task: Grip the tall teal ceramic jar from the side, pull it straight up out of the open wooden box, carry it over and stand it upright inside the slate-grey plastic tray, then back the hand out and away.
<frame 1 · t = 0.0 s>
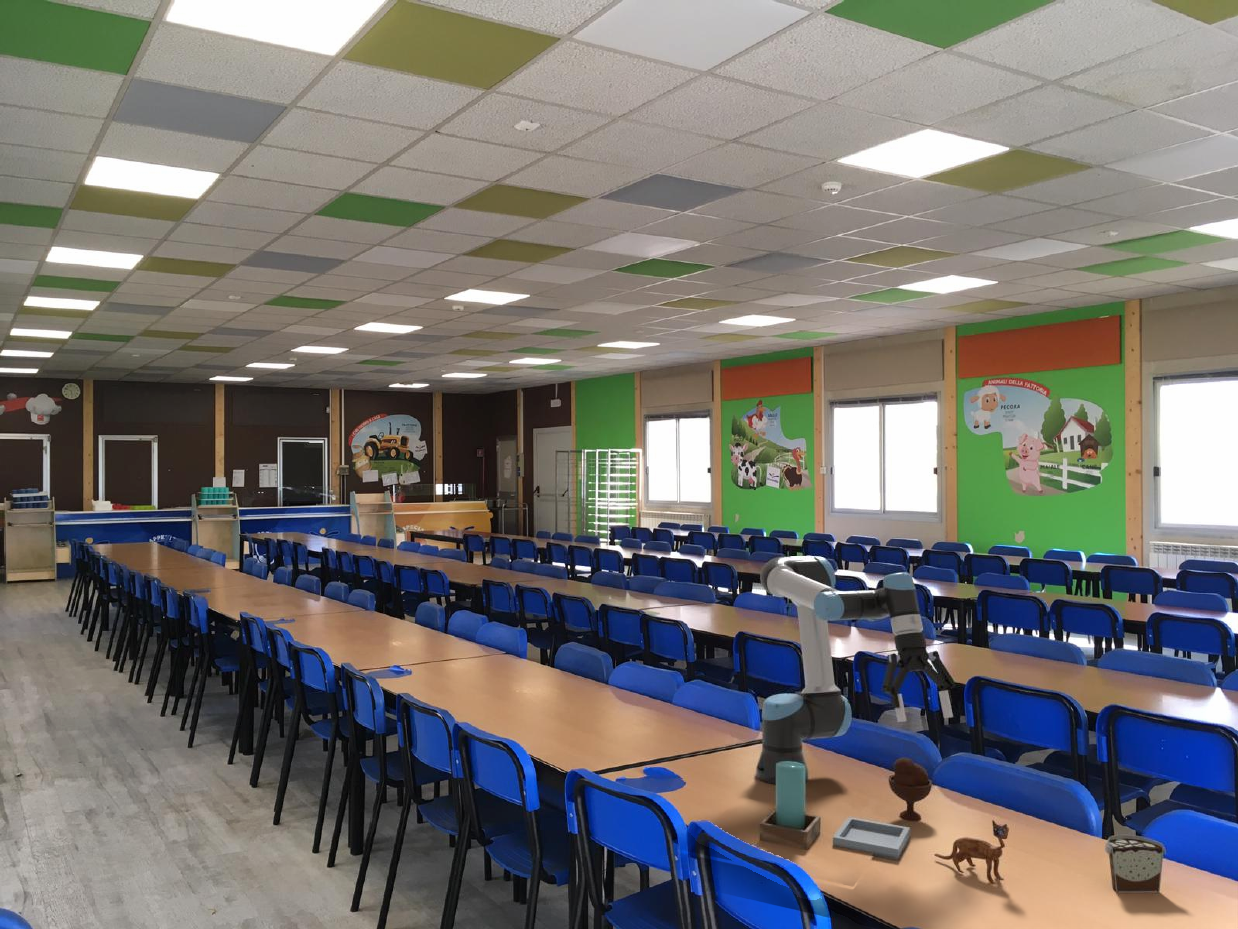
hand: (925, 719, 225), 28 cm above the table, fingers open, 13 cm apart
teal jar: (790, 836, 221), point 1 cm above the table, touching open wooden box
open wooden box: (790, 838, 221), on the table
ice cream bowl: (910, 818, 236), on the table
food container: (1129, 887, 196), on the table
tray: (871, 842, 218), on the table
cat figurine: (970, 873, 203), on the table
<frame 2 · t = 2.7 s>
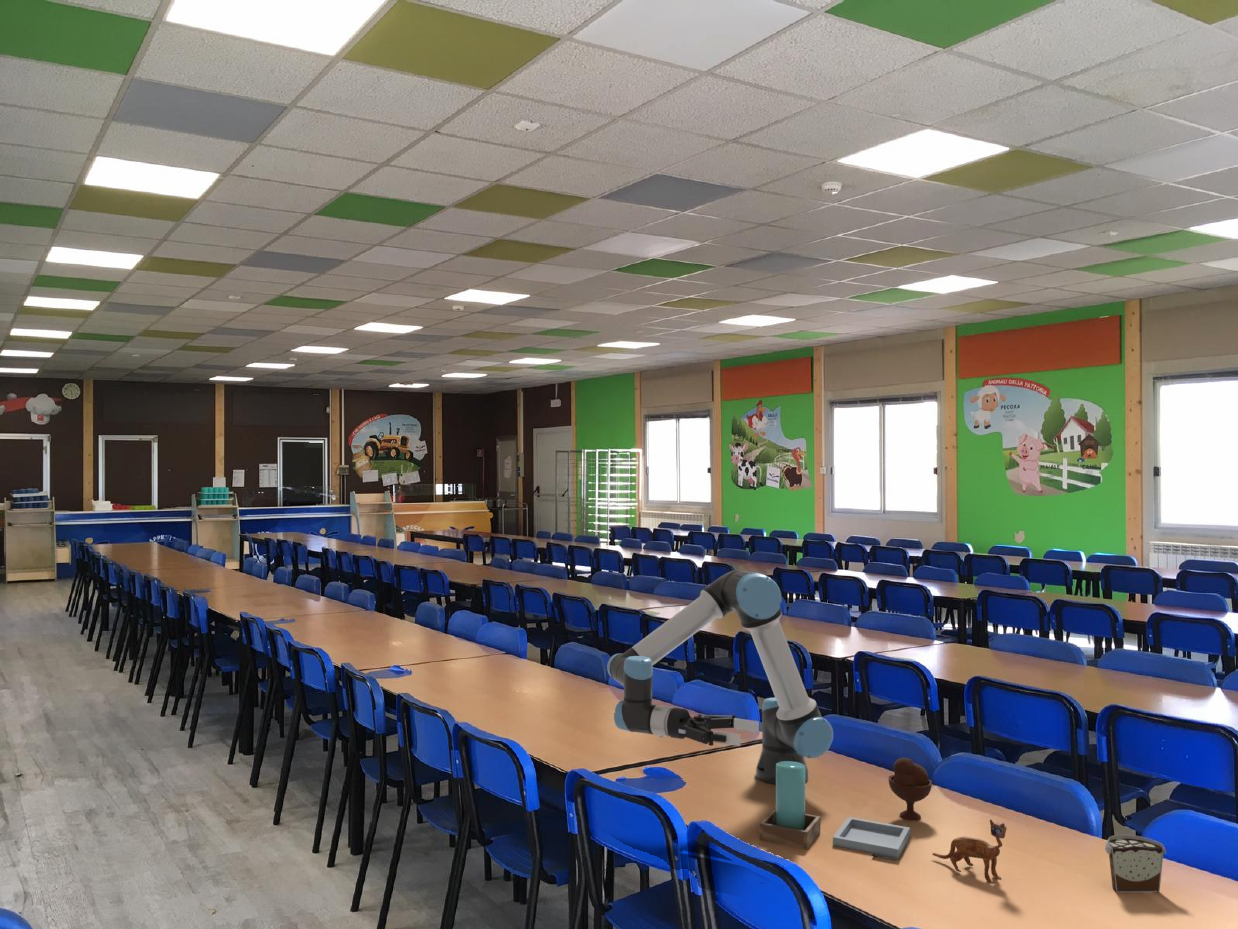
hand: (749, 733, 226), 24 cm above the table, fingers open, 13 cm apart
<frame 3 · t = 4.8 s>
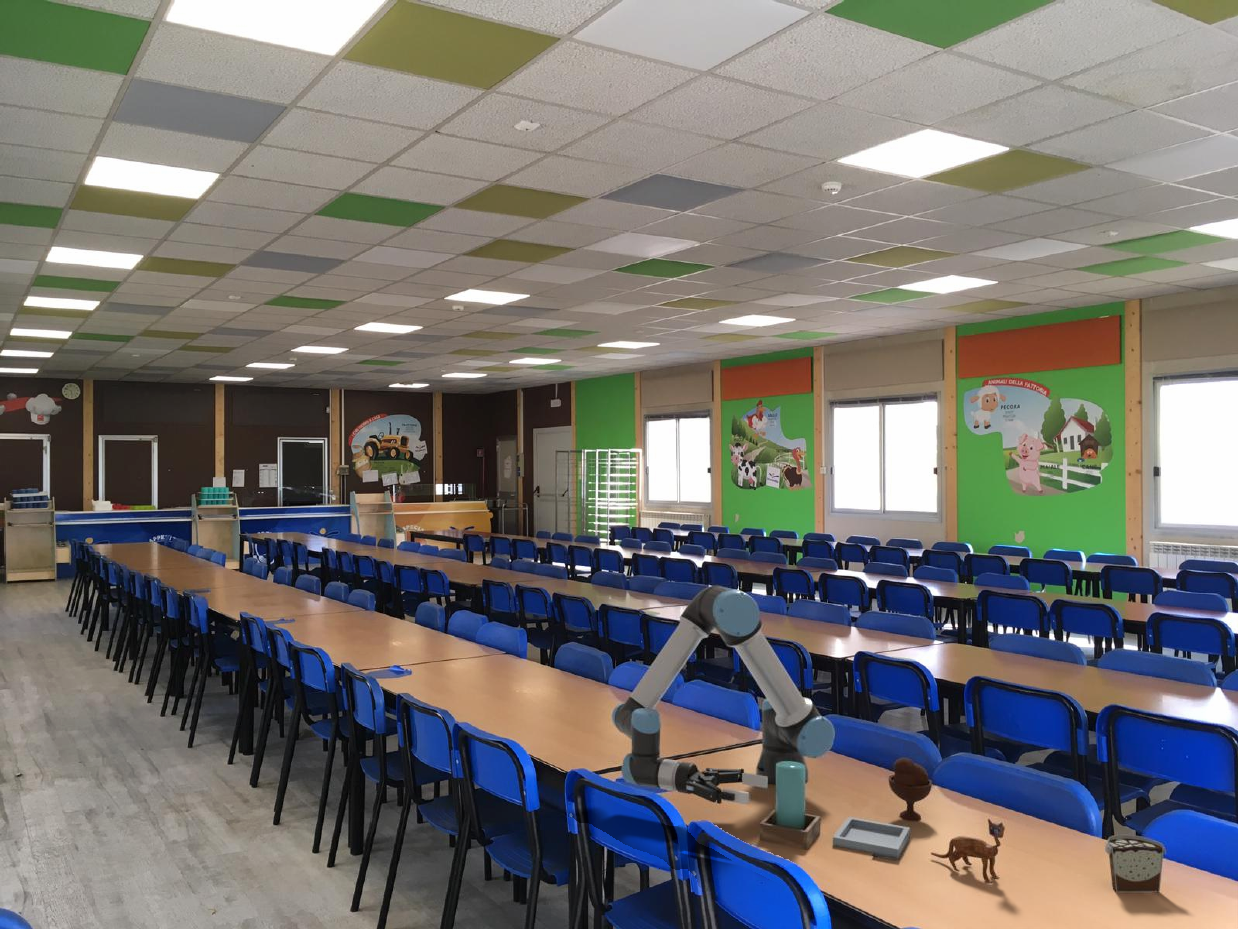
hand: (758, 790, 224), 10 cm above the table, fingers open, 13 cm apart
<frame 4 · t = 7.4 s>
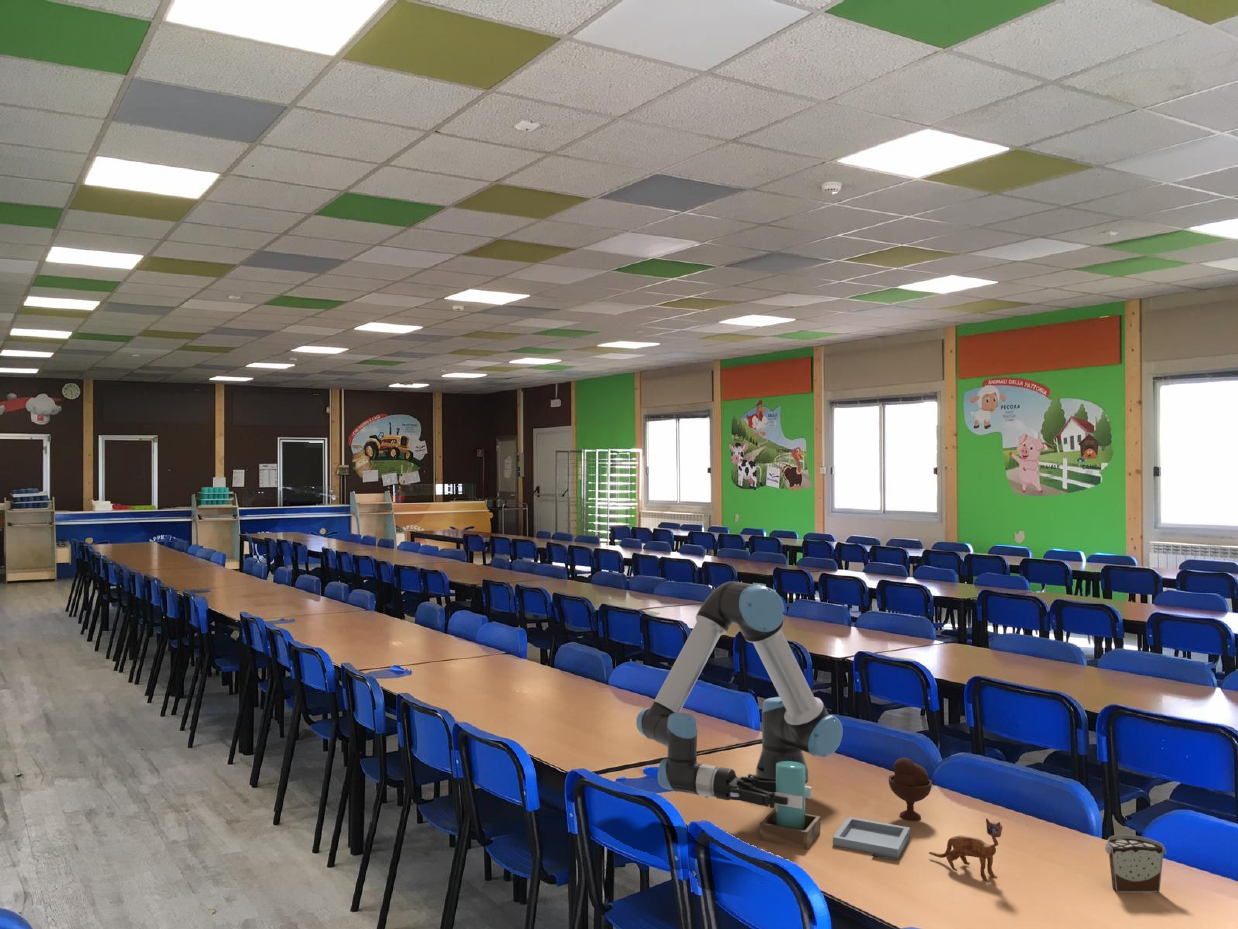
hand: (806, 797, 219), 10 cm above the table, fingers closed on teal jar, 7 cm apart
teal jar: (790, 836, 221), point 1 cm above the table, touching open wooden box, gripper
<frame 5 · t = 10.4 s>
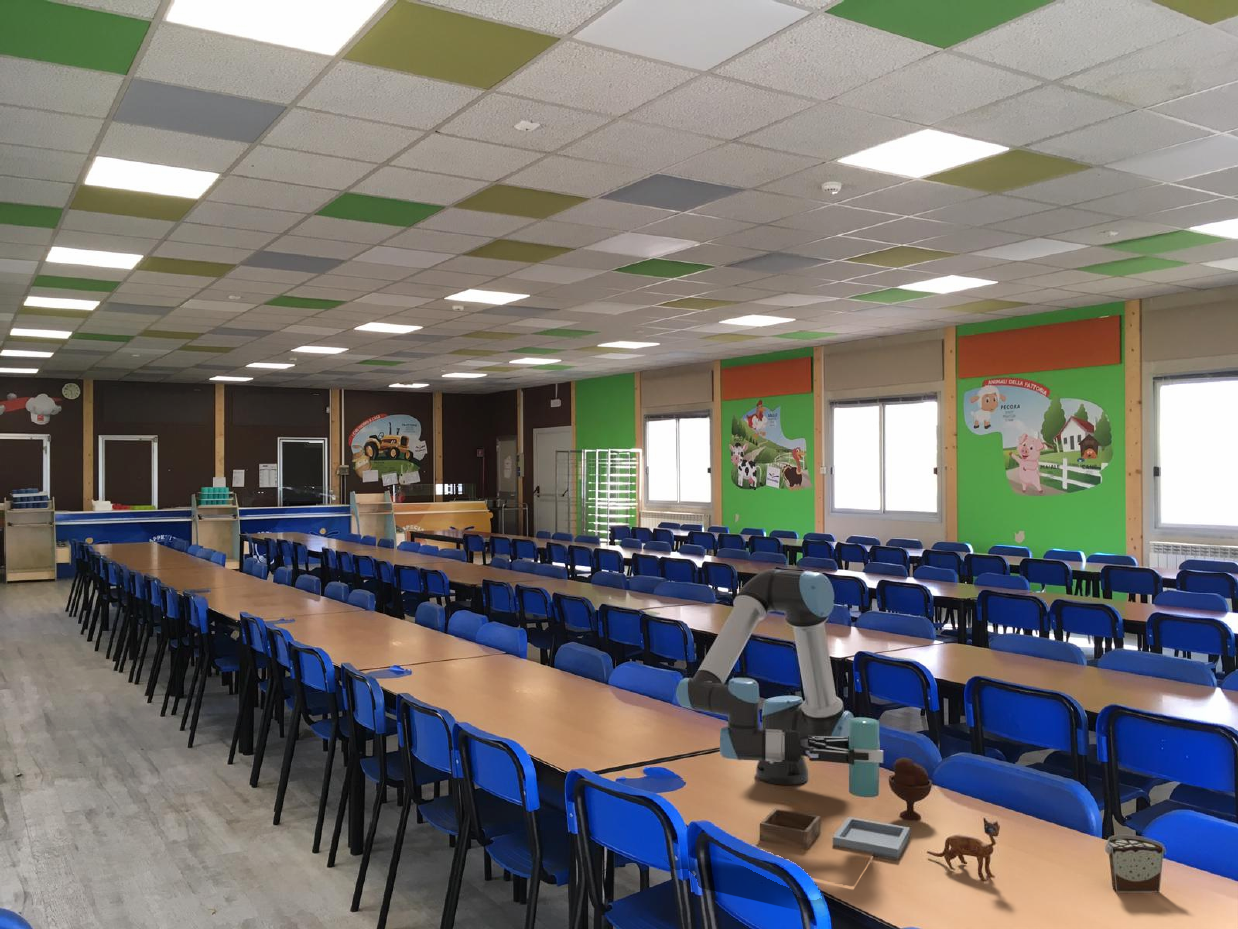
hand: (881, 751, 218), 22 cm above the table, fingers closed on teal jar, 7 cm apart
teal jar: (863, 792, 218), point 12 cm above the table, touching gripper
when the fingers open (12 cm above the table, at t = 13.4 s): teal jar drops 1 cm, resting on tray.
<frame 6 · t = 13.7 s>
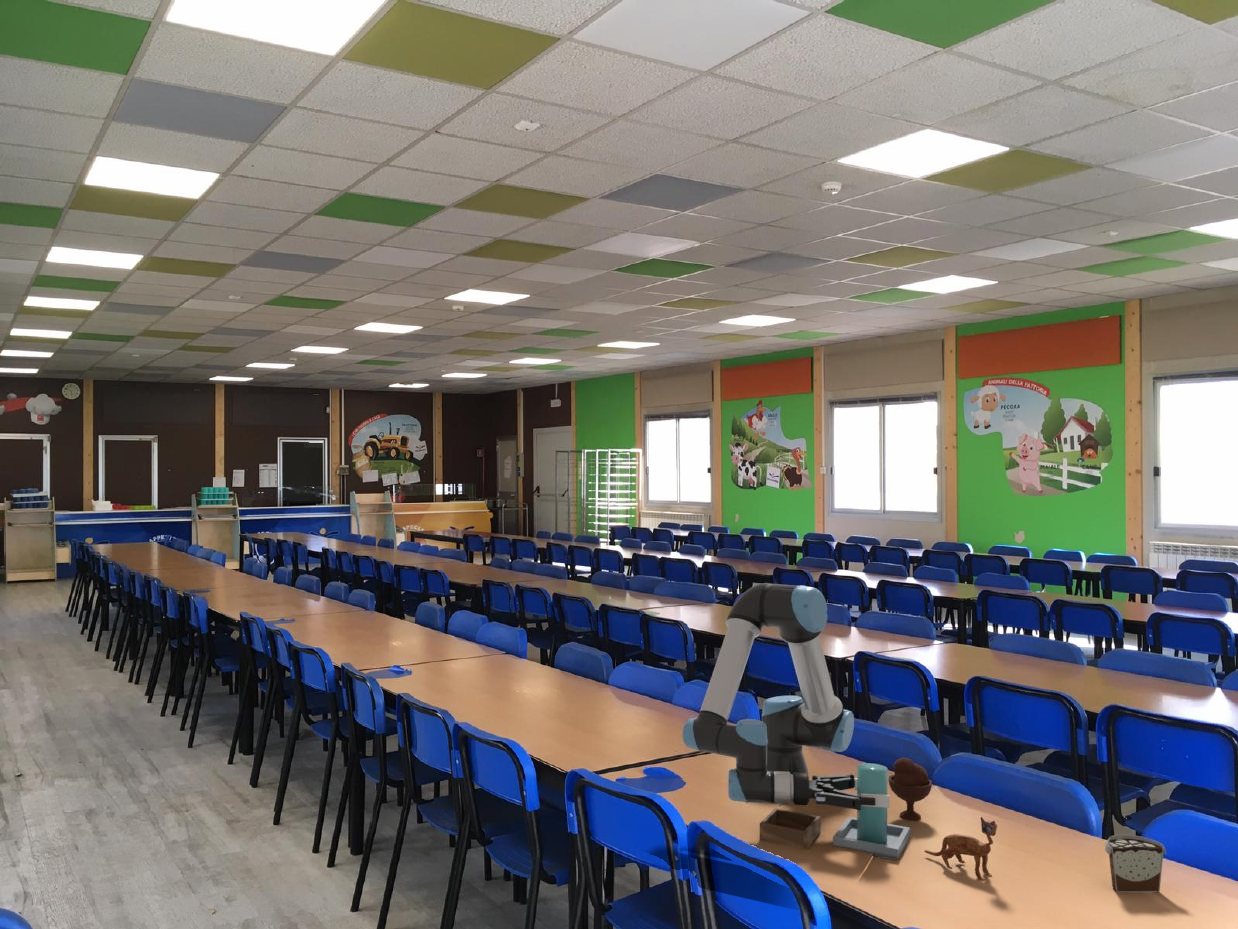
hand: (885, 793, 218), 12 cm above the table, fingers open, 10 cm apart
teal jar: (871, 839, 219), point 1 cm above the table, touching tray
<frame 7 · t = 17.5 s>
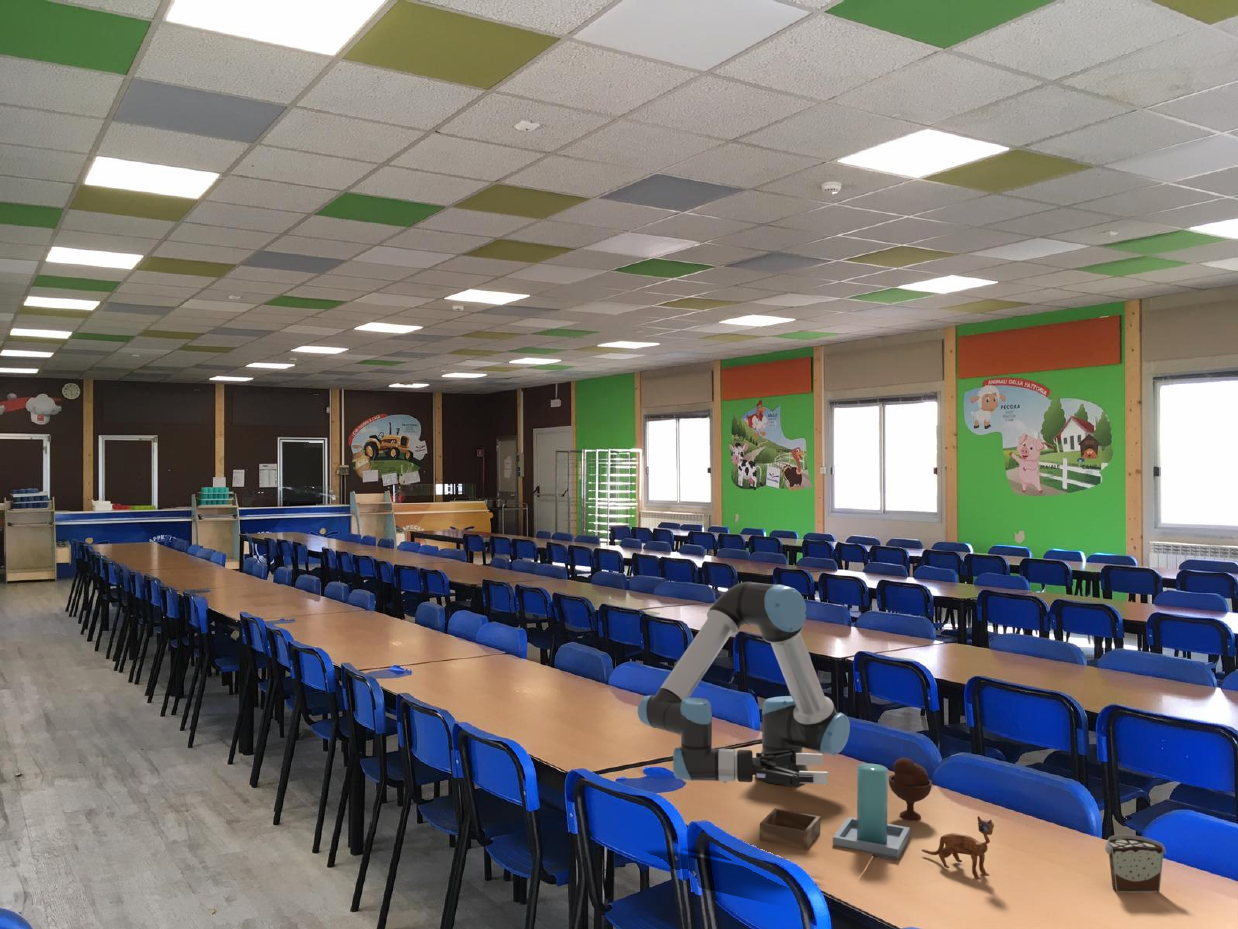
hand: (825, 768, 220), 17 cm above the table, fingers open, 13 cm apart
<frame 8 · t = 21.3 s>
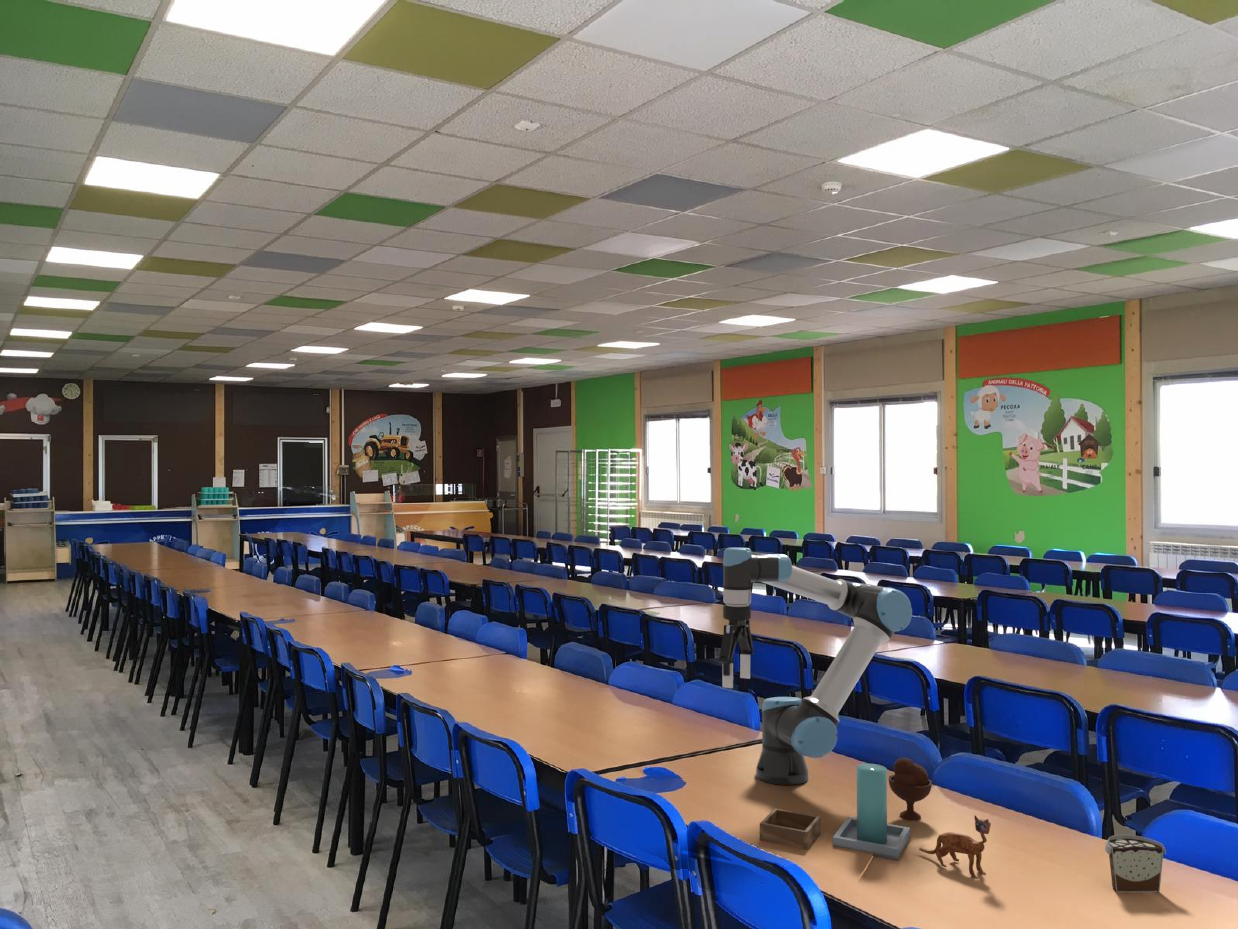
hand: (736, 682, 248), 32 cm above the table, fingers open, 13 cm apart
at the end: teal jar inside the target area on the tray (0.0 cm from its centre), point 0.8 cm above the tray's base; teal jar tilted 0°; the gripper is holding nothing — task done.
